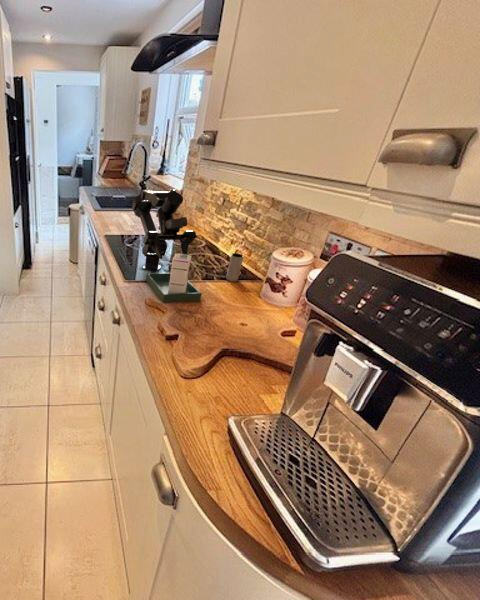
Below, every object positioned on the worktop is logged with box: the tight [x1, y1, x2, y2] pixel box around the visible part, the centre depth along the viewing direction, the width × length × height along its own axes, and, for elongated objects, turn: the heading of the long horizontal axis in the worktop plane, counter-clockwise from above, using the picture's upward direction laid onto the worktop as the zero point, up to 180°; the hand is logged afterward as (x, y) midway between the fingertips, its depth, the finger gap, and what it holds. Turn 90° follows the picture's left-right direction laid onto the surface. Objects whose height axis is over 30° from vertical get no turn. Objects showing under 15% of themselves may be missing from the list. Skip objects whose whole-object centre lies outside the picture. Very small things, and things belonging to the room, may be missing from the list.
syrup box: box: [168, 252, 192, 294], centre depth 114 cm, size 6×6×14 cm
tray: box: [145, 272, 202, 303], centre depth 121 cm, size 20×14×3 cm
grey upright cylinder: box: [225, 253, 245, 282], centre depth 130 cm, size 4×4×10 cm
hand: (173, 258), depth 119 cm, fingers open, 9 cm apart
